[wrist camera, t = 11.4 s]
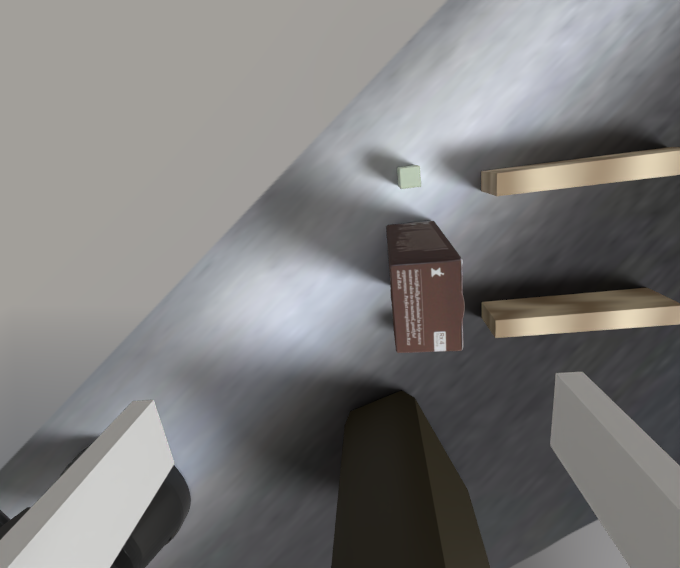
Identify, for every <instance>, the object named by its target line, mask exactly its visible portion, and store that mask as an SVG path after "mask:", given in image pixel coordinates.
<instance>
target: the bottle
mask: <svg viewBox="0 0 680 568" xmlns="http://www.w3.org/2000/svg"><path fill="white" fill-rule="evenodd" d="M331 568H490V565H489V562H488V558H487V555H486V551H485V548H484V544H483V541H482V537H481V534H480V531H479V527H478V524H477V520H476V517H475V513H474V510H473V506H472V503H471V500H470V496H469V493H468V490H467V488H466V486H465V484H464V483H463V481H462V479H461V478H460V476H459V474H458V472H457V471H456V469H455V467H454V465H453V464H452V462H451V460H450V458H449V457H448V455H447V453H446V451H445V450H444V448H443V446H442V445H441V443H440V441H439V439H438V438H437V436H436V434H435V432H434V431H433V429H432V427H431V425H430V424H429V422H428V420H427V418H426V417H425V415H424V413H423V411H422V410H421V408H420V406H419V405H418V403H417V401H416V399H415V398H414V397H412V396H411V395H409V394H407V393H405V392H404V391H399V392H397V393H394V394H392V395H389V396H387V397H384V398H382V399H379V400H377V401H375V402H372V403H370V404H367V405H365V406H362V407H360V408H357V409H355V410H353V411H350V414H349V416H348V419H347V421H346V424H345V428H344V439H343V449H342V460H341V470H340V481H339V491H338V502H337V512H336V523H335V534H334V544H333V555H332V565H331Z"/></svg>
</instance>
